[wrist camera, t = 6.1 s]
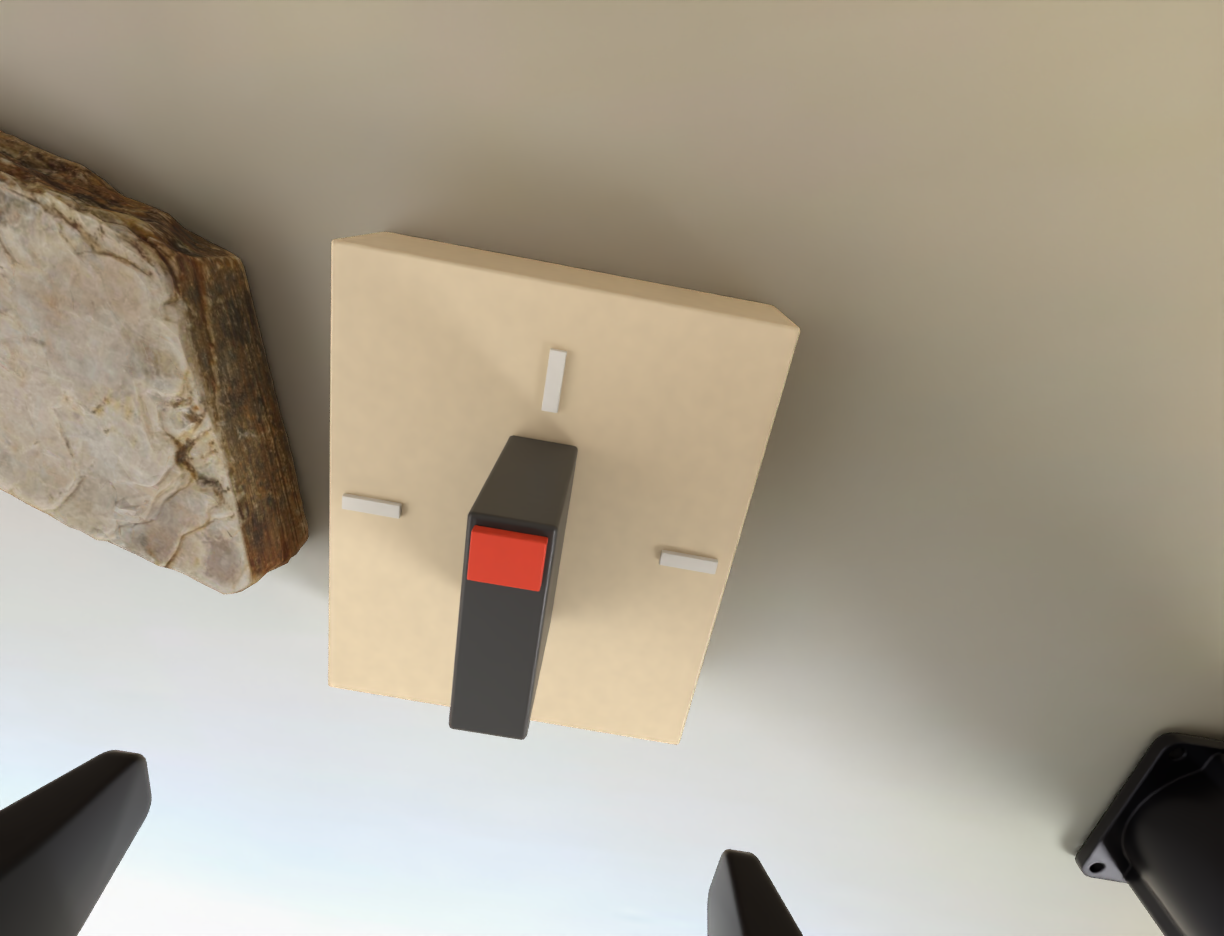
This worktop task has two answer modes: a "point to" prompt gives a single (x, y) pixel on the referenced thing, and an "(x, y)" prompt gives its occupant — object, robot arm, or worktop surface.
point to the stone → (137, 380)
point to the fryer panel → (550, 411)
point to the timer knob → (510, 586)
